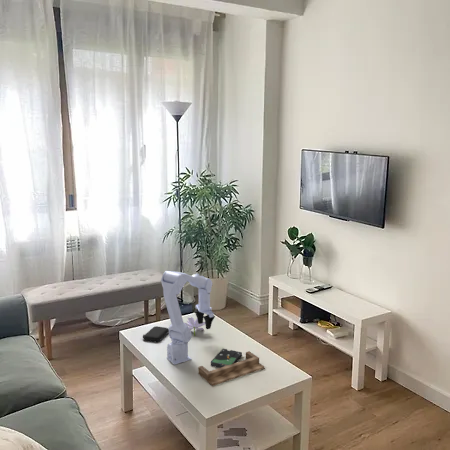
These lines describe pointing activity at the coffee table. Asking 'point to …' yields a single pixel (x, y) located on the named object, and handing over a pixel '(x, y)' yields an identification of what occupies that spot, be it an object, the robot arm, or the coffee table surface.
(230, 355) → the disk drive
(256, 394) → the coffee table surface
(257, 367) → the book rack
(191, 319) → the water lily
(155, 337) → the carrying case or bag
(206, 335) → the coffee table surface
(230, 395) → the coffee table surface
